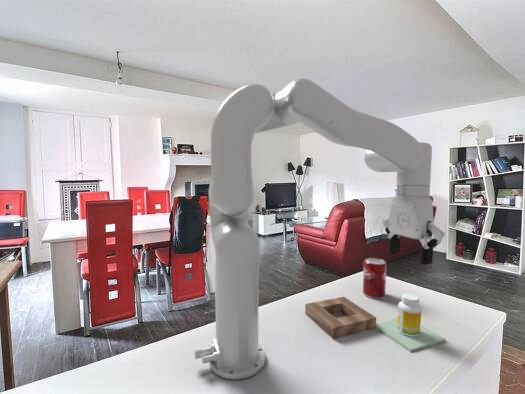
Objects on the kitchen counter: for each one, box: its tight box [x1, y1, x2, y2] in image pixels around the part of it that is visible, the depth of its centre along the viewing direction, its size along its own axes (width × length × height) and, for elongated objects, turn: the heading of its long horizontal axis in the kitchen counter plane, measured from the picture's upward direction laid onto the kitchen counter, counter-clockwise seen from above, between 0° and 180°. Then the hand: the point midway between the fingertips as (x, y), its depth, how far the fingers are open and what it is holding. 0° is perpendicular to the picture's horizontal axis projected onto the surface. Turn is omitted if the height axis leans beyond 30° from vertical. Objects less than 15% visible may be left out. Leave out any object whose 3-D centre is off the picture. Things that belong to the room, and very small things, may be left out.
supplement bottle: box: [396, 293, 422, 337], centre depth 74 cm, size 5×5×10 cm
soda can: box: [362, 257, 387, 299], centre depth 98 cm, size 7×7×12 cm
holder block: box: [304, 296, 377, 340], centre depth 81 cm, size 14×14×3 cm
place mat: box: [375, 318, 446, 353], centre depth 74 cm, size 12×12×1 cm
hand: (409, 258), depth 73 cm, fingers open, 9 cm apart
